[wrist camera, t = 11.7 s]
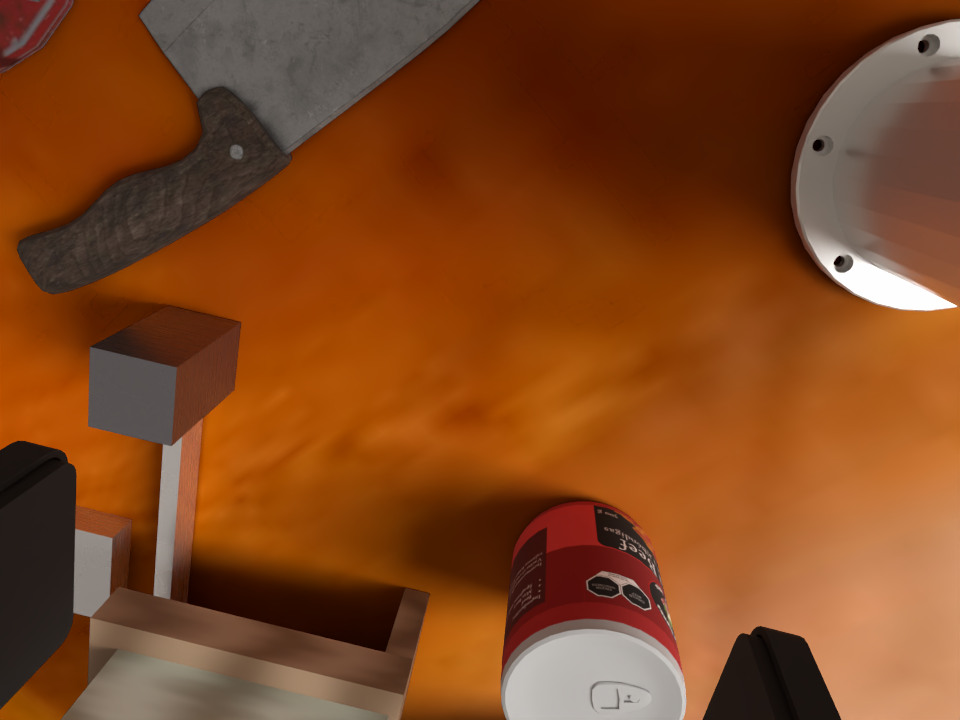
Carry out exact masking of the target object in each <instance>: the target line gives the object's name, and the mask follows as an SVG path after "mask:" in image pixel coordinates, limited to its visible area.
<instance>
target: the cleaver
mask: <svg viewBox="0 0 960 720" xmlns="http://www.w3.org/2000/svg"><path fill="white" fill-rule="evenodd" d="M479 1H480V0H151V1H150V3H149V4H148V5H147V6H146V7H145V8H144V10H143V11H142V12H141V13H140V14H139V17H140V18H141V20H142V21H143V23H144V24H145V26H146V27H147V29H148V30H149V32H150V33H151V35H152V36H153V38H154V39H155V41H156V42H157V44H158V45H159V47H160V48H161V50H162V51H163V53H164V54H165V55H166V57H167V58H168V59H169V61H170V62H171V63H172V65H173V66H174V67H175V69H176V70H177V71H178V73H179V74H180V75H181V77H182V78H183V79H184V81H185V82H186V83H187V85H188V86H189V87H190V89H191V90H192V91H193V93H194V94H195V95H196V97H197V98H198V99H199V100H198V101H197V106H198V111H199V116H200V121H201V125H202V130H203V134H202V136H201V138H200V140H199V143H198V145H197V147H196V148H195V149H194V150H193V151H192V152H190V153H189V154H188V155H187V156H186V157H184V158H183V159H182V160H179V161H177V162H175V163H172V164H170V165H168V166H165V167H161V168H157V169H153V170H149V171H145V172H141V173H137V174H133V175H131V176H128V177H126V178H124V179H121V180H119V181H117V182H116V183H115V184H113V185H112V186H111V187H110V188H108V189H107V190H106V191H105V192H104V193H103V194H102V195H101V196H100V197H99V198H98V199H97V200H96V201H95V202H94V203H93V204H92V205H91V206H90V207H89V208H88V209H87V210H86V211H85V212H84V214H82V215H81V216H79V217H78V218H76V219H75V220H73V221H72V222H70V223H69V224H67V225H64V226H61V227H58V228H55V229H52V230H49V231H46V232H43V233H39V234H35V235H31V236H28V237H26V238H24V239H22V240H21V241H19V244H18V248H17V251H18V254H19V256H20V259H21V260H22V262H23V264H24V265H25V267H26V269H27V270H28V272H29V273H30V275H31V276H32V278H33V279H34V281H35V283H36V284H37V285H38V286H39V287H40V288H41V290H42V291H45V292H48V293H50V294H58V293H63V292H68V291H71V290H74V289H77V288H79V287H82V286H85V285H87V284H90V283H92V282H95V281H97V280H99V279H102V278H104V277H106V276H109V275H111V274H113V273H115V272H117V271H119V270H121V269H123V268H126V267H127V266H129V265H131V264H133V263H135V262H137V261H139V260H141V259H143V258H145V257H147V256H148V255H150V254H152V253H154V252H156V251H158V250H160V249H161V248H163V247H165V246H167V245H169V244H171V243H172V242H174V241H176V240H178V239H179V238H181V237H183V236H185V235H186V234H188V233H190V232H192V231H193V230H195V229H197V228H198V227H200V226H202V225H204V224H205V223H207V222H209V221H210V220H212V219H213V218H215V217H217V216H218V215H220V214H221V213H223V212H225V211H226V210H228V209H229V208H230V207H232V206H233V205H235V204H236V203H238V202H239V201H241V200H242V199H244V198H245V197H247V196H248V195H249V194H251V193H252V192H254V191H255V190H256V189H258V188H259V187H261V186H262V185H263V184H265V183H266V182H267V181H269V180H270V179H271V178H273V177H274V176H275V175H276V174H278V173H279V172H280V171H281V170H283V169H284V168H285V167H286V166H287V165H288V164H289V163H290V161H291V159H292V156H291V153H290V152H292V151H293V150H294V149H296V148H297V147H298V146H300V145H301V144H302V143H304V142H305V141H306V140H307V139H309V138H310V137H311V136H313V135H314V134H315V133H317V132H318V131H319V130H321V129H322V128H323V127H325V126H326V125H327V124H329V123H330V122H331V121H332V120H334V119H335V118H336V117H338V116H339V115H340V114H342V113H343V112H344V111H346V110H347V109H348V108H350V107H351V106H352V105H354V104H355V103H356V102H357V101H359V100H360V99H361V98H363V97H364V96H365V95H367V94H368V93H369V92H371V91H372V90H373V89H375V88H376V87H377V86H378V85H380V84H381V83H382V82H384V81H385V80H386V79H388V78H389V77H390V76H392V75H393V74H394V73H395V72H397V71H398V70H399V69H401V68H402V67H403V66H405V65H406V64H407V63H408V62H410V61H411V60H412V59H414V58H415V57H416V56H418V55H419V54H420V53H421V52H422V51H424V50H425V49H426V48H427V47H428V46H430V45H431V44H432V43H433V42H434V41H436V40H437V39H438V38H439V37H440V36H442V35H443V34H444V33H445V32H446V31H448V30H449V29H450V28H451V27H452V26H453V25H454V24H455V23H456V22H457V21H458V20H460V19H461V18H462V17H463V16H464V15H465V14H466V13H467V12H468V11H469V10H470V9H471V8H472V7H473V6H474V5H475V4H477V3H478V2H479Z"/></svg>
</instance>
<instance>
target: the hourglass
mask: <svg viewBox="0 0 960 720" xmlns="http://www.w3.org/2000/svg"><path fill="white" fill-rule="evenodd" d="M73 2H74V0H0V73H3V72H5V71H7V70H9V69H10V68H12V67H13V66H15V65H16V64H18V63H19V62H21V61H23V60H24V59H26V58H27V57H29V56H30V55H32V54H33V53H35V52H37V51H38V50H40V49H41V48H43V47H44V46H45V44H46V43H47V41H48V40H49V38H50V37H51V36H52V34H53V33H54V31H55V30H56V28H57V27H58V26H59V24H60V23H61V21H62V20H63V19H64V17H65V16H66V14H67V13H68V11H69V10H70V9H71V7H72V5H73Z"/></svg>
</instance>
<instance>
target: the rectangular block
mask: <svg viewBox="0 0 960 720" xmlns="http://www.w3.org/2000/svg"><path fill="white" fill-rule="evenodd" d="M131 529H132V519H129V518H125V517H121V516H117V515H113V514H108V513H104V512H100V511H96V510H92V509H88V508H84V507H80V506H76V515H75V562H74V608H73V613H76V614H80V615H84V616H88V617H92V615H93V614H94V613H95V612H96V611H97V610H98V609H99V608H100V607H101V606H102V605H103V603H104V602H105V601H106V600H107V599H108V598H109V597H110V596H111V595H112V594H113V593H114V591H115V590H116V589H117V588H118V587H121V588H126V589H128V576H129V560H130V544H131Z"/></svg>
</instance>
